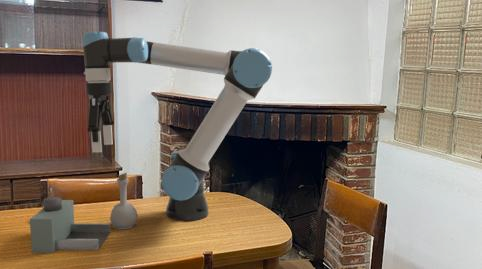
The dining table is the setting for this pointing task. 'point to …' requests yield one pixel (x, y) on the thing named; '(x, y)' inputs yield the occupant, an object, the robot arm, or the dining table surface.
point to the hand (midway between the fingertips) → (103, 148)
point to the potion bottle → (123, 208)
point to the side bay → (84, 236)
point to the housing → (51, 224)
